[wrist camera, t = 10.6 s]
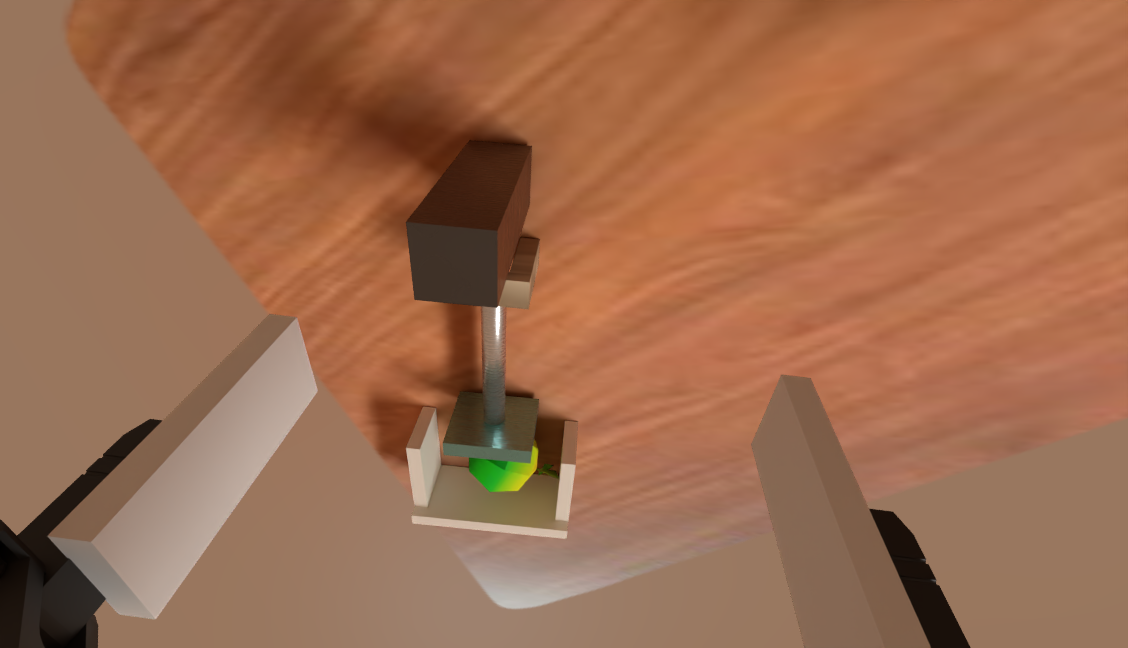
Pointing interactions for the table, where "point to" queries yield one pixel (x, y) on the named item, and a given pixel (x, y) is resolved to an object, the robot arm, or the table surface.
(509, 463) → the apple
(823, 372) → the table surface
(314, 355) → the table surface
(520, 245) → the bearing block
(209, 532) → the robot arm
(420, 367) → the table surface
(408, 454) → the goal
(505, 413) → the piston
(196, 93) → the table surface
